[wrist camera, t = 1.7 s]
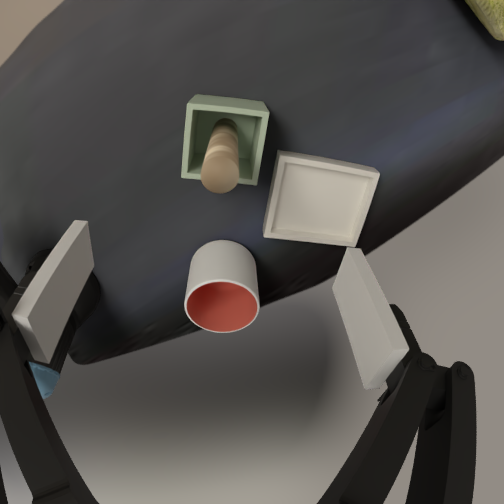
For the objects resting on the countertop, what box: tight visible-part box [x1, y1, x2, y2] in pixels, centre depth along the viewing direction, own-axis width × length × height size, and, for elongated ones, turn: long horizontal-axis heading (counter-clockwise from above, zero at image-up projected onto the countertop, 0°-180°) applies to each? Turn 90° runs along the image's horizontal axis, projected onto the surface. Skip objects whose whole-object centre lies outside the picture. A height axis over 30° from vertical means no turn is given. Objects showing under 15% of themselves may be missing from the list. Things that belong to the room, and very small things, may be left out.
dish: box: [262, 150, 380, 247], centre depth 43 cm, size 14×12×2 cm
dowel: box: [201, 118, 239, 193], centre depth 31 cm, size 3×3×16 cm
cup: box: [184, 240, 260, 333], centre depth 46 cm, size 10×10×10 cm
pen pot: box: [181, 94, 269, 185], centre depth 35 cm, size 8×8×8 cm
